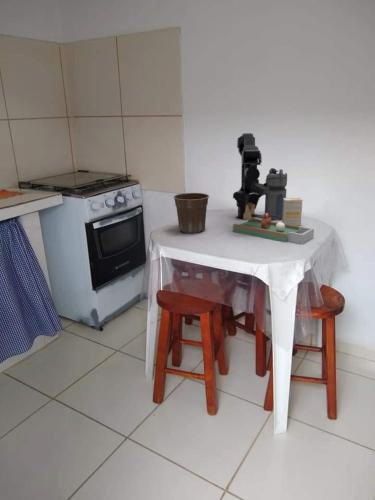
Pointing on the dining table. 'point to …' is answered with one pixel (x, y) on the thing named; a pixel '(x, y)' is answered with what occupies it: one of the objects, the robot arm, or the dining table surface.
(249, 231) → the pitch
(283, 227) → the ball
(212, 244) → the dining table surface
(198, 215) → the plant pot
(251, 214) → the foosball rod
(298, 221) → the supplement box
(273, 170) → the beverage bottle
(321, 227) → the dining table surface
